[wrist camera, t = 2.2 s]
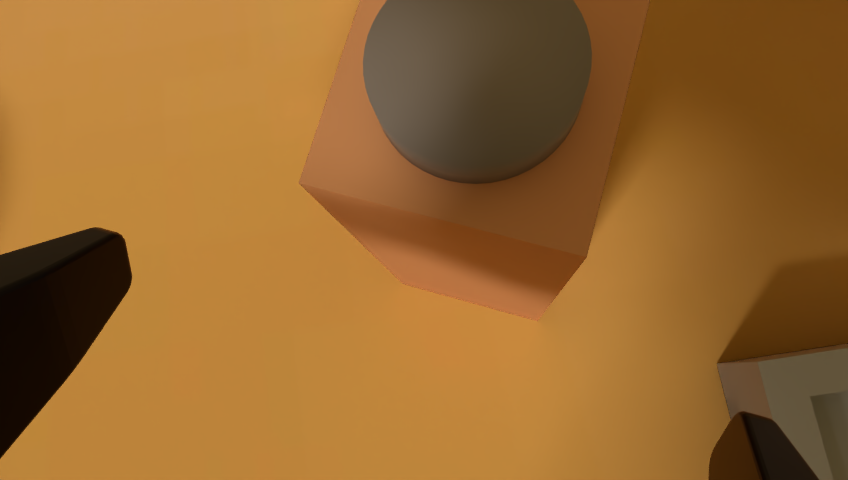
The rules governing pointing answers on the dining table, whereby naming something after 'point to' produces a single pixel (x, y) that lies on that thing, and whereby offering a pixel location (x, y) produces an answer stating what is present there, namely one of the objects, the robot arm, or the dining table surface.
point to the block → (476, 140)
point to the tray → (798, 401)
